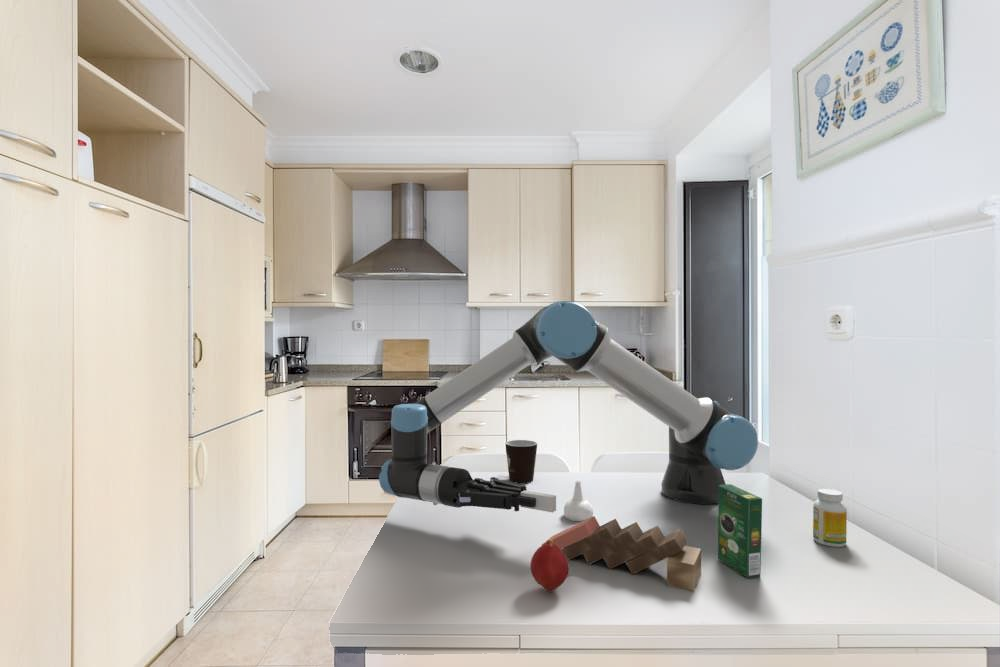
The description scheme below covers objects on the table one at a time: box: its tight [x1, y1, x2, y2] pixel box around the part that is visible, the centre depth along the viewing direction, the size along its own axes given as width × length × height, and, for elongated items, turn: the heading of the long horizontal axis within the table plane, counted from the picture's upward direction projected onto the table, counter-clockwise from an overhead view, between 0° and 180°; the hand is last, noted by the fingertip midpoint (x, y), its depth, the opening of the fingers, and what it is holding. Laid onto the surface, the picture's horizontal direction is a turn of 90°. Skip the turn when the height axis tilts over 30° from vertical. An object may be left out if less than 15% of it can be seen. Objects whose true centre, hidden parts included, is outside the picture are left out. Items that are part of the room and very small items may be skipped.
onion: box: [530, 538, 570, 593], centre depth 81 cm, size 6×6×8 cm
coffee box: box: [717, 483, 763, 579], centre depth 89 cm, size 8×3×13 cm, turn 13°
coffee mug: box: [505, 439, 538, 484], centre depth 145 cm, size 12×9×10 cm
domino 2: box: [561, 518, 622, 561], centre depth 93 cm, size 2×5×10 cm
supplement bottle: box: [812, 488, 848, 548], centre depth 101 cm, size 5×5×10 cm
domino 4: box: [602, 525, 666, 570], centre depth 89 cm, size 2×5×10 cm
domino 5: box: [625, 528, 688, 575], centre depth 87 cm, size 2×5×10 cm
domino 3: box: [582, 521, 643, 566], centre depth 91 cm, size 2×5×10 cm
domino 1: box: [541, 515, 601, 550], centre depth 95 cm, size 2×5×10 cm
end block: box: [666, 545, 702, 592], centre depth 85 cm, size 4×7×4 cm, turn 151°
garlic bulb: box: [563, 480, 594, 522], centre depth 115 cm, size 6×6×8 cm
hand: (554, 503), depth 96 cm, fingers closed
